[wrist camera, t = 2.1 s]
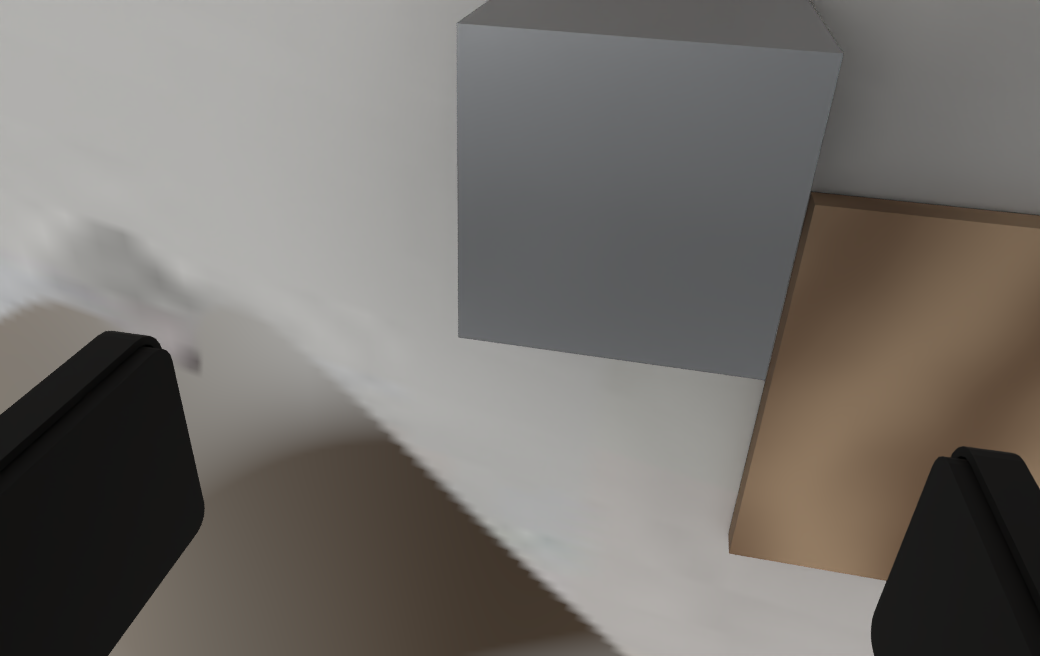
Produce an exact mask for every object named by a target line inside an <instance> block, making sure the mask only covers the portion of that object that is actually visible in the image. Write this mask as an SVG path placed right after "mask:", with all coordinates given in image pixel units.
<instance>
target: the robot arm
mask: <svg viewBox="0 0 1040 656" xmlns="http://www.w3.org/2000/svg"><path fill="white" fill-rule="evenodd" d="M204 509H205V508H204V500H203V496H202V492H201V487H200V482H199V478H198V474H197V469H196V465H195V460H194V455H193V451H192V446H191V442H190V438H189V433H188V429H187V424H186V420H185V415H184V411H183V406H182V402H181V397H180V393H179V388H178V384H177V380H176V375H175V370H174V366H173V361H172V358H171V355H170V354H169V353H168V351H166V350H164V349H162V348H161V346H160V343H159V342H158V341H157V340H156V339H155V338H153V337H151V336H146V335H139V334H131V333H124V332H117V331H105V332H103V333H102V334H100V335H98V336H97V337H96V338H94V339H93V340H92V341H91V342H90V343H88V344H87V345H86V346H85V347H83V348H82V349H81V350H80V351H79V352H77V353H76V354H75V355H74V356H72V357H71V358H70V359H69V360H67V361H66V362H65V363H64V364H62V365H61V366H60V367H59V368H58V369H56V370H55V371H54V372H53V373H51V374H50V375H49V376H48V377H46V378H45V379H44V380H43V381H41V382H40V383H39V384H38V385H37V386H35V387H34V388H33V389H32V390H30V391H29V392H28V393H27V394H25V395H24V396H23V397H22V398H21V399H19V400H18V401H17V402H16V403H15V404H13V405H12V406H11V407H10V408H8V409H7V410H6V411H5V412H3V413H2V414H1V415H0V656H108V655H109V654H110V652H111V651H112V649H113V648H114V647H115V645H116V644H117V642H118V641H119V640H120V638H121V637H122V636H123V634H124V633H125V631H126V630H127V629H128V627H129V626H130V625H131V623H132V622H133V620H134V619H135V618H136V616H137V615H138V614H139V612H140V611H141V609H142V608H143V607H144V605H145V604H146V602H147V601H148V600H149V598H150V597H151V596H152V594H153V593H154V591H155V590H156V589H157V587H158V586H159V584H160V583H161V582H162V580H163V579H164V578H165V576H166V575H167V574H168V572H169V571H170V569H171V568H172V567H173V565H174V564H175V563H176V561H177V560H178V558H179V557H180V556H181V554H182V553H183V551H184V550H185V549H186V547H187V546H188V545H189V543H190V542H191V541H192V539H193V538H194V536H195V535H196V534H197V532H198V530H199V529H200V526H201V523H202V521H203V517H204ZM871 642H872V648H873V653H874V656H1040V489H1039V487H1038V485H1037V483H1036V481H1035V480H1034V478H1033V476H1032V474H1031V472H1030V471H1029V469H1028V467H1027V465H1026V464H1025V462H1024V461H1023V459H1022V458H1021V457H1020V456H1019V455H1017V454H1015V453H1010V452H1003V451H996V450H988V449H981V448H973V447H966V446H962V447H958V448H957V449H956V450H955V451H954V452H953V453H952V455H951V457H944V456H941V457H938V458H937V459H936V460H935V462H934V464H933V466H932V468H931V470H930V473H929V475H928V478H927V480H926V483H925V486H924V488H923V491H922V493H921V496H920V498H919V501H918V503H917V506H916V508H915V511H914V513H913V516H912V518H911V521H910V523H909V526H908V528H907V531H906V533H905V536H904V539H903V541H902V544H901V546H900V549H899V551H898V554H897V556H896V559H895V561H894V564H893V566H892V569H891V571H890V574H889V576H888V579H887V581H886V584H885V587H884V589H883V592H882V594H881V597H880V599H879V602H878V604H877V607H876V609H875V612H874V615H873V618H872V625H871Z"/></svg>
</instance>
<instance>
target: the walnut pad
mask: <svg viewBox="0 0 1040 656" xmlns="http://www.w3.org/2000/svg"><path fill="white" fill-rule="evenodd" d="M962 446H966V447H973V448H981V449H988V450H996V451H1003V452H1010V453H1015V454H1017V455H1019V456H1020V457H1021V458H1022V459H1023V461H1024V462H1025V464H1026V465H1027V467H1028V469H1029V471H1030V472H1031V474H1032V476H1033V478H1034V480H1035V481H1036V483H1037V485H1038V487H1039V489H1040V216H1038V215H1028V214H1018V213H1009V212H999V211H990V210H980V209H971V208H961V207H951V206H942V205H932V204H923V203H913V202H904V201H894V200H884V199H875V198H865V197H856V196H846V195H836V194H827V193H817V192H811V195H810V199H809V203H808V207H807V212H806V216H805V220H804V224H803V228H802V232H801V236H800V240H799V245H798V249H797V253H796V257H795V261H794V265H793V269H792V274H791V278H790V282H789V286H788V290H787V294H786V298H785V302H784V307H783V311H782V315H781V319H780V323H779V327H778V331H777V336H776V340H775V344H774V348H773V352H772V356H771V360H770V364H769V369H768V373H767V377H766V381H765V385H764V389H763V393H762V398H761V402H760V406H759V410H758V414H757V418H756V422H755V426H754V431H753V435H752V439H751V443H750V447H749V451H748V455H747V460H746V464H745V468H744V472H743V476H742V480H741V484H740V488H739V493H738V497H737V501H736V505H735V509H734V513H733V517H732V521H731V526H730V530H729V534H728V535H729V553H730V554H735V555H741V556H747V557H753V558H758V559H764V560H770V561H776V562H782V563H787V564H793V565H799V566H805V567H810V568H816V569H822V570H828V571H834V572H839V573H845V574H851V575H857V576H862V577H868V578H874V579H880V580H886V581H887V579H888V576H889V574H890V571H891V569H892V566H893V564H894V561H895V559H896V556H897V554H898V551H899V549H900V546H901V544H902V541H903V539H904V536H905V533H906V531H907V528H908V526H909V523H910V521H911V518H912V516H913V513H914V511H915V508H916V506H917V503H918V501H919V498H920V496H921V493H922V491H923V488H924V486H925V483H926V480H927V478H928V475H929V473H930V470H931V468H932V466H933V464H934V462H935V460H936V459H937V458H938V457H941V456H944V457H951V455H952V453H953V452H954V451H955V450H956V449H957V448H958V447H962Z"/></svg>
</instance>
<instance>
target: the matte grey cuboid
mask: <svg viewBox="0 0 1040 656" xmlns="http://www.w3.org/2000/svg"><path fill="white" fill-rule="evenodd" d="M842 59H843V52H842V50H841V49H840V47H839V46H838V44H837V43H836V41H835V40H834V38H833V37H832V35H831V34H830V32H829V30H828V29H827V27H826V26H825V24H824V23H823V21H822V20H821V18H820V17H819V15H818V13H817V12H816V10H815V9H814V7H813V6H812V4H811V3H810V1H809V0H489V1H487V2H486V3H485V4H483V5H482V6H480V7H479V8H478V9H476V10H475V11H473V12H472V13H470V14H469V15H468V16H466V17H465V18H463V19H462V20H461V21H459V22H458V23H457V166H458V337H460V338H467V339H474V340H481V341H488V342H495V343H503V344H510V345H517V346H524V347H531V348H538V349H545V350H552V351H560V352H567V353H574V354H581V355H588V356H595V357H602V358H610V359H617V360H624V361H631V362H638V363H645V364H652V365H660V366H667V367H674V368H681V369H688V370H695V371H702V372H710V373H717V374H724V375H731V376H738V377H745V378H752V379H760V380H765V378H766V374H767V369H768V365H769V361H770V357H771V353H772V349H773V345H774V340H775V336H776V332H777V328H778V324H779V320H780V316H781V311H782V307H783V303H784V299H785V295H786V291H787V286H788V282H789V278H790V274H791V270H792V266H793V262H794V257H795V253H796V249H797V245H798V241H799V237H800V233H801V228H802V224H803V220H804V216H805V212H806V208H807V204H808V199H809V195H810V191H811V187H812V183H813V179H814V175H815V170H816V166H817V162H818V158H819V154H820V150H821V146H822V141H823V137H824V133H825V129H826V125H827V121H828V117H829V112H830V108H831V104H832V100H833V96H834V92H835V88H836V83H837V79H838V75H839V71H840V67H841V63H842Z"/></svg>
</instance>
